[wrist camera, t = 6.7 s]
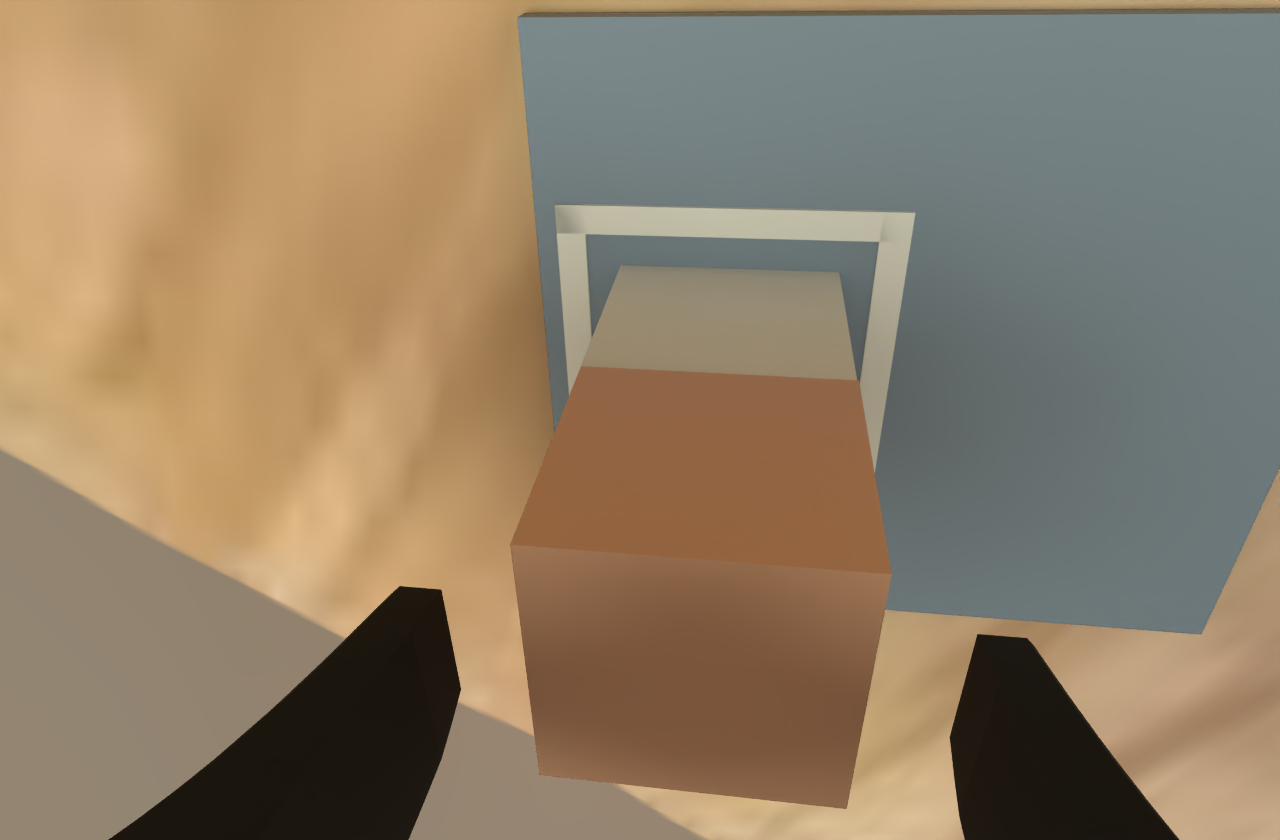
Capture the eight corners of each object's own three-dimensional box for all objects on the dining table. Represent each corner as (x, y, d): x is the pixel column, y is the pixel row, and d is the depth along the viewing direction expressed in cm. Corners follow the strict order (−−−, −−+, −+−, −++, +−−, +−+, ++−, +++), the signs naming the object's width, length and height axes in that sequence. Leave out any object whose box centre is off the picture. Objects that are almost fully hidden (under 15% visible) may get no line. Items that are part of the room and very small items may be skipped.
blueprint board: (1191, 617, 22) (1202, 637, 21) (572, 569, 24) (567, 587, 23) (1467, 7, 14) (1498, 13, 13) (525, 13, 16) (516, 18, 15)
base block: (818, 454, 20) (829, 590, 16) (626, 443, 20) (593, 571, 16) (839, 272, 17) (857, 381, 14) (620, 265, 18) (579, 368, 14)
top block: (829, 589, 16) (846, 809, 12) (593, 570, 16) (539, 775, 13) (859, 380, 14) (892, 574, 10) (581, 366, 14) (510, 544, 10)
